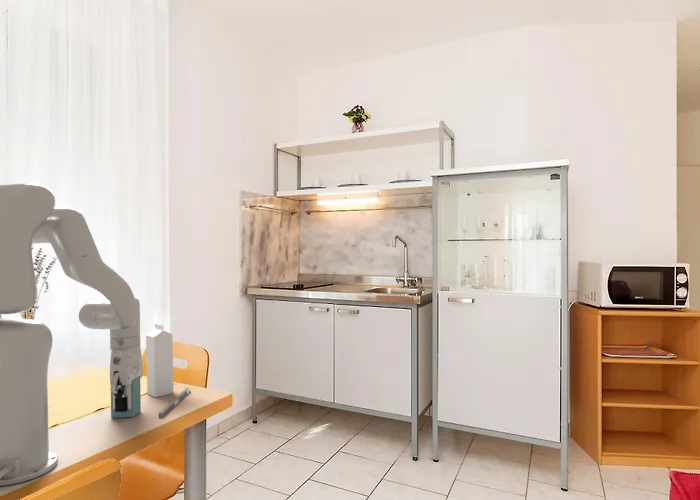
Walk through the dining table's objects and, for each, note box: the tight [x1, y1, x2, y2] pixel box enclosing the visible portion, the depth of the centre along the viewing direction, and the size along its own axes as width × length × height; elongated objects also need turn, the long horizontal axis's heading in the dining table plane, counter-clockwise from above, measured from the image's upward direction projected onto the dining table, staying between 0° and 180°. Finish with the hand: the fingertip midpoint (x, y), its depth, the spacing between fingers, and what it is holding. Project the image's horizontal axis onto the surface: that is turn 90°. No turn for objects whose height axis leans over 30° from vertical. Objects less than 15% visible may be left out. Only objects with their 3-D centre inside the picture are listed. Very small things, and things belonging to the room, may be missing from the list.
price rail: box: [158, 387, 191, 418], centre depth 131 cm, size 22×1×1 cm, turn 1°
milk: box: [145, 323, 174, 398], centre depth 141 cm, size 6×6×22 cm
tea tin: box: [110, 376, 142, 418], centre depth 123 cm, size 6×5×10 cm
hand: (126, 407), depth 123 cm, fingers closed on tea tin, 4 cm apart
